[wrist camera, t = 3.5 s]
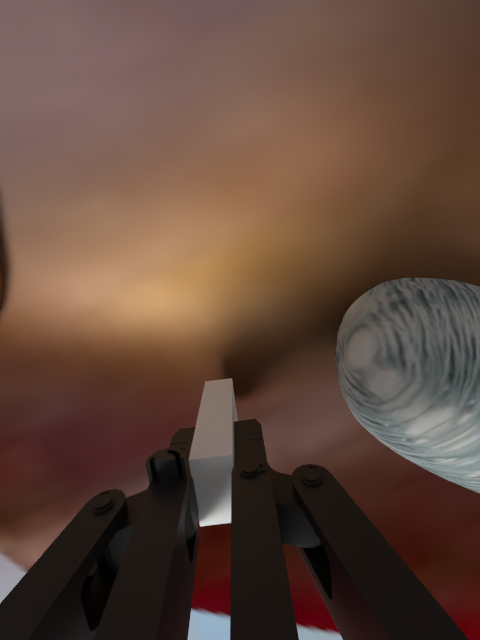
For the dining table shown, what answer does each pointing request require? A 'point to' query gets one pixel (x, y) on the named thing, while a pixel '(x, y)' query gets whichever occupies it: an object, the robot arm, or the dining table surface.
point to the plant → (1, 284)
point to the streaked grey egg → (417, 372)
